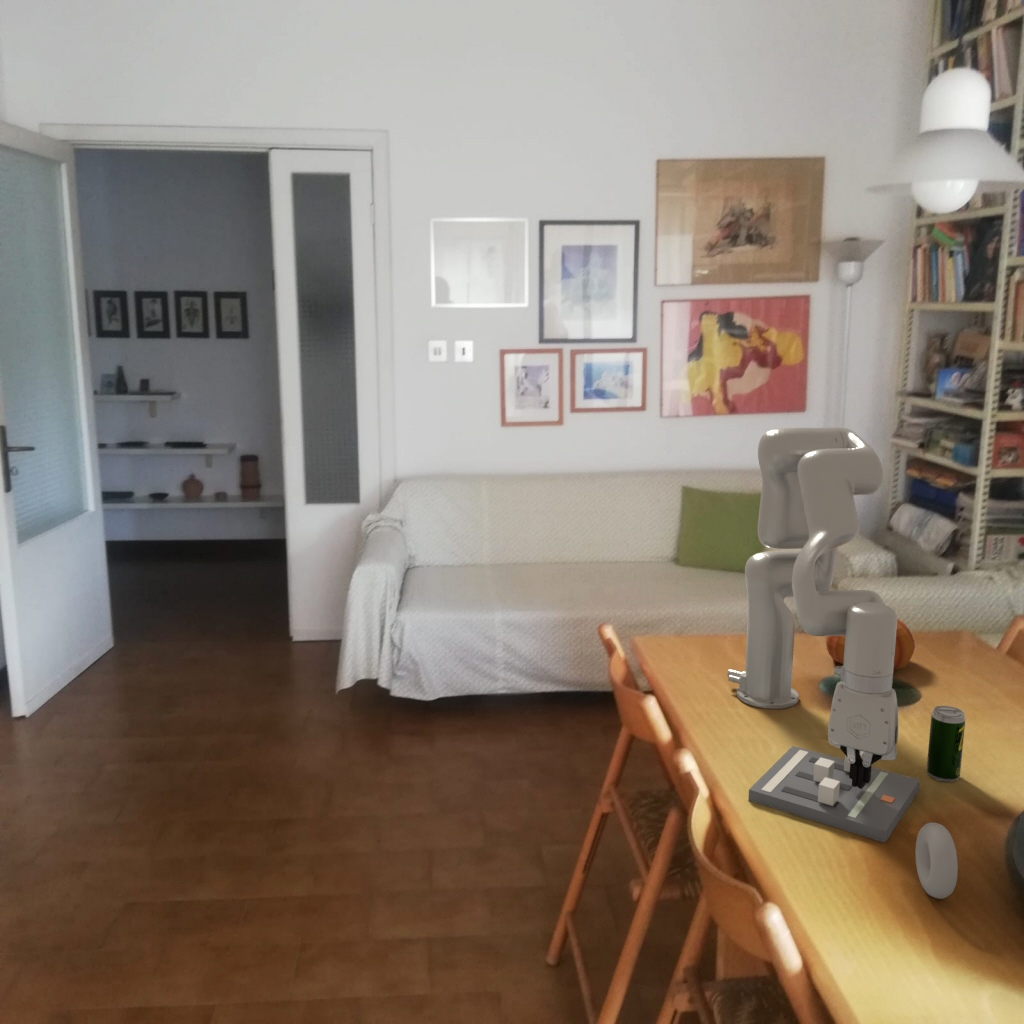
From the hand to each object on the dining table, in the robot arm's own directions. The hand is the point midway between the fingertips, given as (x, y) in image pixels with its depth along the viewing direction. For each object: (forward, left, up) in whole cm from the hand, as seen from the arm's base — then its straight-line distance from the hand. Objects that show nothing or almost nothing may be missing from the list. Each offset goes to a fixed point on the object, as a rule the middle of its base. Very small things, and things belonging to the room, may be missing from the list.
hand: (859, 784), depth 156 cm
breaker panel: (-4, 0, -3) cm, 5 cm away
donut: (+16, -19, -4) cm, 25 cm away
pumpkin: (-18, +66, -4) cm, 68 cm away
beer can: (+9, +18, -4) cm, 20 cm away
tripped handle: (-6, 0, -1) cm, 6 cm away
